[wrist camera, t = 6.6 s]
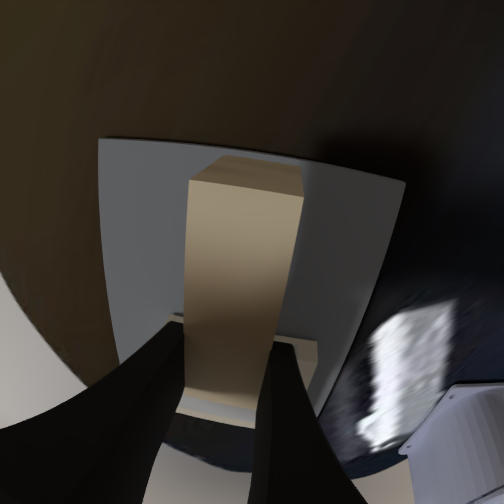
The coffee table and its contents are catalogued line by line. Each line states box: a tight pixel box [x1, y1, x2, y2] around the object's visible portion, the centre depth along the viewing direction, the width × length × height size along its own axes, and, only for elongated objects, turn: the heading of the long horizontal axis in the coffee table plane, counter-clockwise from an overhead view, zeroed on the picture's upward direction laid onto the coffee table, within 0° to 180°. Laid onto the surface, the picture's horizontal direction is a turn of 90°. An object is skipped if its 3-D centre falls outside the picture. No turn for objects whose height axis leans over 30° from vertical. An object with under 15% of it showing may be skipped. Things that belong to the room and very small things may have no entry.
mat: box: [98, 138, 406, 417], centre depth 17 cm, size 18×14×1 cm
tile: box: [164, 314, 318, 428], centre depth 17 cm, size 2×8×7 cm
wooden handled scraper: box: [178, 155, 304, 422], centre depth 11 cm, size 12×5×4 cm, turn 172°
